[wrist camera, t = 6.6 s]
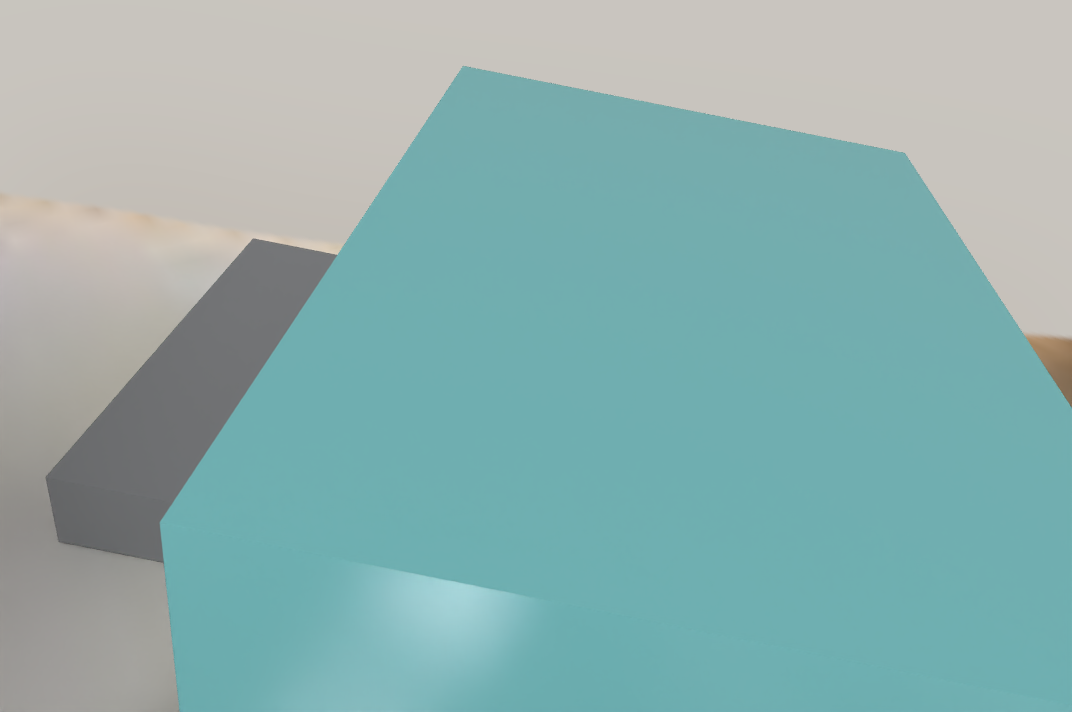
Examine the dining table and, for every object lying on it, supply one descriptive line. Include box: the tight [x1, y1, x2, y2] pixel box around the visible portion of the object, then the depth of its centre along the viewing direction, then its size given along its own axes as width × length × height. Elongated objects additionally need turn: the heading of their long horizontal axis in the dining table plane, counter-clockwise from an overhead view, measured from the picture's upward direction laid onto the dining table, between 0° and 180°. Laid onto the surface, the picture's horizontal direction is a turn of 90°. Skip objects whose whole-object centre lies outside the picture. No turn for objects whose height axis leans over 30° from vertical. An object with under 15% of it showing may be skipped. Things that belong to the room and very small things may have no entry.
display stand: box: [46, 239, 337, 562], centre depth 24 cm, size 22×12×4 cm, turn 84°
